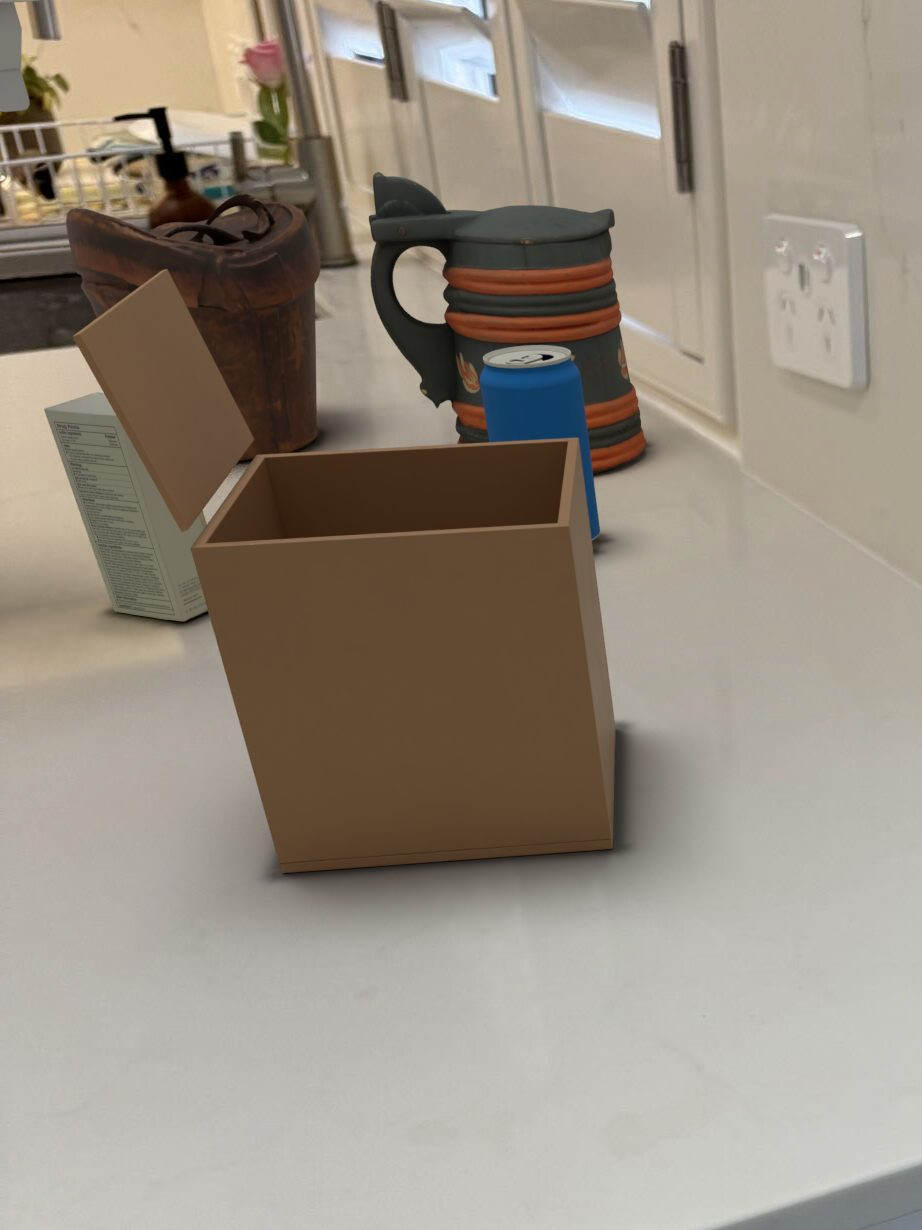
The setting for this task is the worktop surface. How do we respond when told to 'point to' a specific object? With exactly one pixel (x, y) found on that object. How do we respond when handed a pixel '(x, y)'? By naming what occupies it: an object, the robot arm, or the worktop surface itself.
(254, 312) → the brown plant pot
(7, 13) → the robot arm
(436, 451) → the carton
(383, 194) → the beer stein
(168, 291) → the flap
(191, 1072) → the worktop surface
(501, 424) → the beverage can
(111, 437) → the cosmetic box
